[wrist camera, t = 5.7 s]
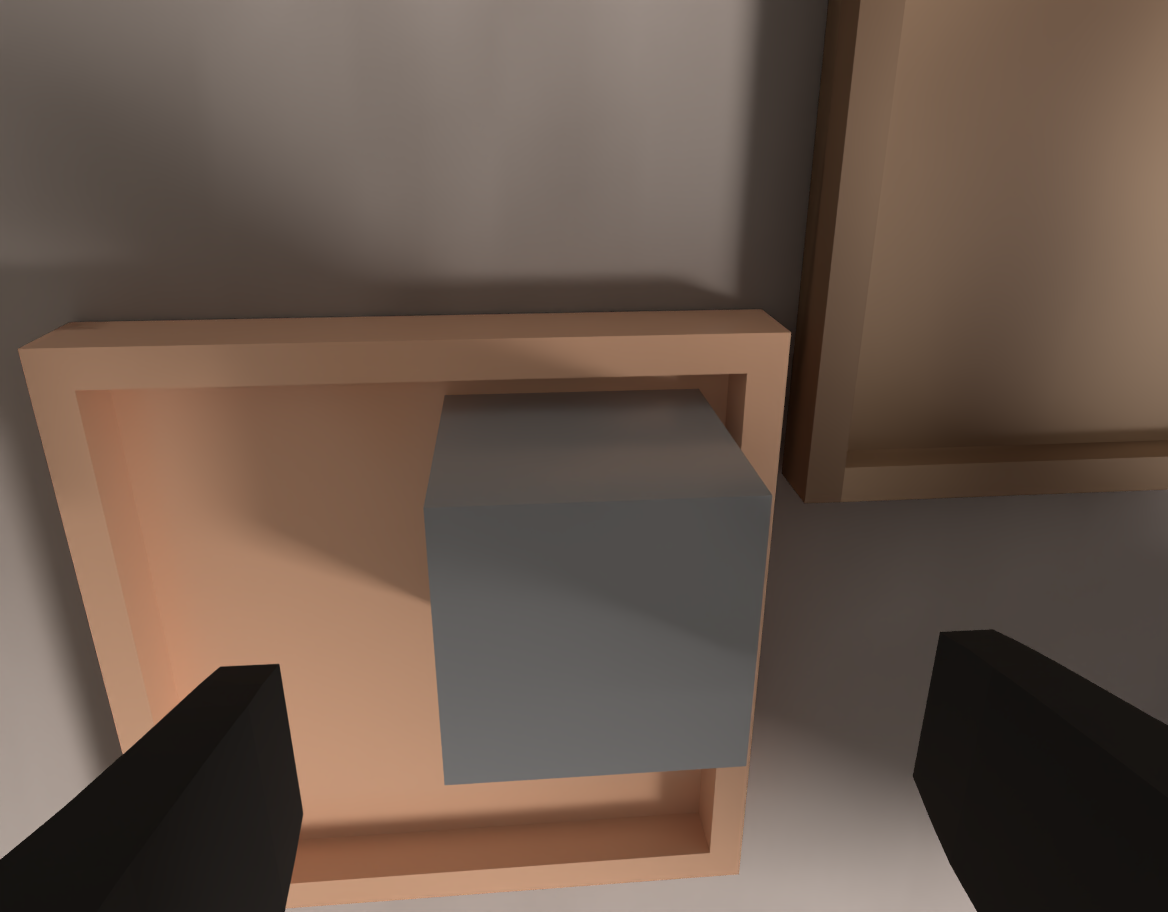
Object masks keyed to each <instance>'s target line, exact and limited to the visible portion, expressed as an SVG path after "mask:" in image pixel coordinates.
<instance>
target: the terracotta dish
mask: <svg viewBox="0 0 1168 912" xmlns="http://www.w3.org/2000/svg"><path fill="white" fill-rule="evenodd" d="M790 338H791V332H790V331H789V330H787V329H786V328H785V327H784V326H782V325H781V324H780V323H779V322H777V321H776V320H775V319H774V318H772V317H771V316H770V315H769V314H767V313H766V312H765V311H763V310H762V309H742V310H690V311H637V312H584V313H531V314H478V315H426V316H373V317H320V318H267V319H214V320H162V321H109V322H69V323H67V324H65V325H63V326H61V327H59V328H57V329H55V330H54V331H52V332H50V333H48V334H46V335H44V336H42V337H40V338H38V339H36V340H34V341H32V342H30V343H28V344H26V345H24V346H22V347H20V348H18V352H19V356H20V360H21V364H22V368H23V371H24V375H25V379H26V383H27V387H28V391H29V395H30V398H31V402H32V406H33V410H34V414H35V418H36V422H37V425H38V429H39V433H40V437H41V441H42V445H43V449H44V452H45V456H46V460H47V464H48V468H49V472H50V476H51V480H52V483H53V487H54V491H55V495H56V499H57V503H58V507H59V510H60V514H61V518H62V522H63V526H64V530H65V534H66V537H67V541H68V545H69V549H70V553H71V557H72V561H73V564H74V568H75V572H76V576H77V580H78V584H79V588H80V591H81V595H82V599H83V603H84V607H85V611H86V615H87V618H88V622H89V626H90V630H91V634H92V638H93V642H94V645H95V649H96V653H97V657H98V661H99V665H100V669H101V672H102V676H103V680H104V684H105V688H106V692H107V696H108V699H109V703H110V707H111V711H112V715H113V719H114V723H115V726H116V730H117V734H118V738H119V742H120V746H121V750H122V753H123V754H124V753H125V752H126V751H127V750H128V749H130V748H131V747H132V746H133V745H134V744H135V743H136V742H137V741H138V740H139V739H141V738H142V737H143V736H144V735H145V734H146V733H147V732H148V731H149V730H150V729H151V728H153V727H154V726H155V725H156V724H157V723H158V722H159V721H160V720H161V719H162V718H163V717H164V716H166V715H167V714H168V713H169V712H170V711H171V710H172V709H173V708H174V707H175V706H176V705H177V704H179V703H180V702H181V701H182V700H183V699H184V698H185V697H186V696H187V695H188V694H189V693H191V692H192V691H193V690H194V689H195V688H196V687H197V686H198V685H199V684H200V683H202V682H203V681H204V680H205V679H206V678H207V677H208V676H210V675H211V674H212V673H213V672H214V671H215V670H217V669H218V668H219V667H221V666H242V665H263V664H279V665H280V671H281V677H282V683H283V689H284V696H285V702H286V708H287V714H288V720H289V727H290V733H291V739H292V745H293V752H294V758H295V764H296V770H297V776H298V783H299V789H300V795H301V801H302V808H303V819H302V825H301V830H300V836H299V841H298V847H297V852H296V858H295V863H294V868H293V873H292V878H291V883H290V888H289V893H288V898H287V903H286V908H297V907H310V906H323V905H337V904H350V903H363V902H376V901H390V900H403V899H416V898H429V897H443V896H456V895H469V894H483V893H496V892H509V891H522V890H536V889H549V888H562V887H575V886H589V885H602V884H615V883H628V882H642V881H655V880H668V879H681V878H695V877H708V876H721V875H734V874H739V867H740V857H741V846H742V836H743V826H744V815H745V805H746V794H747V784H748V774H749V763H750V753H751V743H752V732H753V722H754V712H755V701H756V691H757V680H758V670H759V660H760V649H761V639H762V629H763V618H764V608H765V597H766V587H767V577H768V566H769V556H770V546H771V535H772V525H773V514H774V504H775V494H776V483H777V473H778V463H779V452H780V442H781V432H782V421H783V411H784V400H785V390H786V380H787V369H788V359H789V349H790ZM667 389H699V390H700V391H701V393H702V394H703V396H704V397H705V398H706V400H707V401H708V403H709V404H710V406H711V407H712V409H713V410H714V411H715V413H716V414H717V416H718V417H719V419H720V420H721V422H722V423H723V424H724V426H725V427H726V429H727V430H728V432H729V433H730V435H731V436H732V437H733V439H734V440H735V442H736V443H737V445H738V446H739V448H740V449H741V451H742V452H743V453H744V455H745V456H746V458H747V459H748V461H749V462H750V464H751V465H752V466H753V468H754V469H755V471H756V472H757V474H758V475H759V477H760V478H761V479H762V481H763V482H764V484H765V485H766V487H767V488H768V490H769V491H770V493H771V494H772V505H771V516H770V526H769V536H768V547H767V557H766V568H765V578H764V588H763V599H762V609H761V619H760V630H759V640H758V650H757V661H756V671H755V681H754V692H753V702H752V712H751V723H750V733H749V744H748V754H747V764H746V766H742V767H726V768H710V769H695V770H679V771H663V772H647V773H632V774H616V775H600V776H584V777H569V778H553V779H537V780H521V781H506V782H490V783H474V784H458V785H444V772H443V759H442V746H441V733H440V720H439V706H438V693H437V680H436V667H435V654H434V641H433V628H432V615H431V602H430V588H429V575H428V562H427V549H426V536H425V523H424V510H423V507H424V502H425V497H426V491H427V486H428V481H429V476H430V470H431V465H432V460H433V454H434V449H435V444H436V438H437V433H438V428H439V423H440V417H441V412H442V407H443V401H444V396H445V395H469V394H509V393H548V392H588V391H627V390H667Z"/></svg>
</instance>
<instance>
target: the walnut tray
mask: <svg viewBox="0 0 1168 912" xmlns="http://www.w3.org/2000/svg"><path fill="white" fill-rule="evenodd" d="M782 474H783V476H784V477H785V478H786V480H787V481H788V482H789V484H790V485H791V486H792V487H793V489H794V490H795V491H796V493H797V494H798V495H799V497H800V498H801V499H802V501H803V502H804V503H829V502H855V501H881V500H907V499H933V498H959V497H985V496H1011V495H1037V494H1063V493H1088V492H1114V491H1140V490H1166V489H1168V0H829V2H828V12H827V22H826V33H825V43H824V53H823V63H822V73H821V83H820V93H819V103H818V114H817V124H816V134H815V144H814V154H813V164H812V174H811V185H810V195H809V205H808V215H807V225H806V235H805V245H804V256H803V266H802V276H801V286H800V296H799V306H798V316H797V326H796V337H795V347H794V357H793V367H792V377H791V387H790V397H789V408H788V418H787V428H786V438H785V448H784V458H783V468H782Z"/></svg>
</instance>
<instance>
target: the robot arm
mask: <svg viewBox="0 0 1168 912" xmlns="http://www.w3.org/2000/svg"><path fill="white" fill-rule="evenodd" d="M913 778H914V780H915V783H916V785H917V788H918V790H919V793H920V795H921V798H922V800H923V803H924V805H925V807H926V810H927V812H928V815H929V817H930V820H931V822H932V825H933V827H934V829H935V831H936V834H937V836H938V838H939V840H940V843H941V845H942V847H943V849H944V852H945V854H946V856H947V858H948V860H949V863H950V865H951V866H952V868H953V870H954V872H955V874H956V875H957V877H958V879H959V881H960V883H961V884H962V886H963V888H964V890H965V891H966V893H967V895H968V897H969V898H970V900H971V902H972V904H973V905H974V907H975V909H976V911H977V912H1168V725H1166V724H1164V723H1162V722H1161V721H1159V720H1157V719H1155V718H1153V717H1152V716H1150V715H1148V714H1146V713H1145V712H1143V711H1141V710H1139V709H1138V708H1136V707H1134V706H1132V705H1131V704H1129V703H1127V702H1125V701H1124V700H1122V699H1120V698H1118V697H1117V696H1115V695H1113V694H1111V693H1109V692H1108V691H1106V690H1104V689H1102V688H1101V687H1099V686H1097V685H1095V684H1094V683H1092V682H1090V681H1088V680H1087V679H1085V678H1083V677H1081V676H1080V675H1078V674H1076V673H1074V672H1073V671H1071V670H1069V669H1067V668H1066V667H1064V666H1062V665H1060V664H1058V663H1057V662H1055V661H1053V660H1051V659H1049V658H1048V657H1046V656H1044V655H1042V654H1040V653H1038V652H1037V651H1035V650H1033V649H1031V648H1029V647H1027V646H1025V645H1023V644H1021V643H1020V642H1018V641H1016V640H1014V639H1012V638H1010V637H1007V636H1005V635H1003V634H1001V633H999V632H997V631H995V630H973V631H952V632H940V635H939V640H938V646H937V651H936V656H935V661H934V667H933V672H932V677H931V683H930V688H929V693H928V699H927V704H926V709H925V715H924V720H923V725H922V730H921V736H920V741H919V746H918V752H917V757H916V762H915V768H914V773H913ZM302 819H303V808H302V801H301V795H300V789H299V783H298V776H297V770H296V764H295V758H294V752H293V745H292V739H291V733H290V727H289V720H288V714H287V708H286V702H285V696H284V689H283V683H282V677H281V671H280V665H279V664H263V665H242V666H221V667H219V668H218V669H217V670H215V671H214V672H213V673H212V674H211V675H210V676H208V677H207V678H206V679H205V680H204V681H203V682H202V683H200V684H199V685H198V686H197V687H196V688H195V689H194V690H193V691H192V692H191V693H189V694H188V695H187V696H186V697H185V698H184V699H183V700H182V701H181V702H180V703H179V704H177V705H176V706H175V707H174V708H173V709H172V710H171V711H170V712H169V713H168V714H167V715H166V716H164V717H163V718H162V719H161V720H160V721H159V722H158V723H157V724H156V725H155V726H154V727H153V728H151V729H150V730H149V731H148V732H147V733H146V734H145V735H144V736H143V737H142V738H141V739H139V740H138V741H137V742H136V743H135V744H134V745H133V746H132V747H131V748H130V749H128V750H127V751H126V752H125V753H124V754H123V755H122V756H121V757H119V758H118V759H117V760H116V761H115V762H114V763H113V764H112V765H111V766H109V767H108V768H107V769H106V770H105V771H104V772H103V773H102V774H100V775H99V776H98V777H97V778H96V779H95V780H94V781H93V782H92V783H90V784H89V785H88V786H87V787H86V788H85V789H84V790H83V791H81V792H80V793H79V794H78V795H77V796H76V797H75V798H74V799H72V800H71V801H70V802H69V803H68V804H67V805H66V806H64V807H63V808H62V809H61V810H60V811H59V812H57V813H56V814H55V815H54V816H53V817H51V818H50V819H49V820H48V821H47V822H45V823H44V824H43V825H42V826H40V827H39V828H38V829H37V830H36V831H34V832H33V833H32V834H31V835H30V836H28V837H27V838H26V839H25V840H24V841H22V842H21V843H20V844H19V845H17V846H16V847H15V848H14V849H13V850H11V851H10V852H9V853H8V854H7V855H5V856H4V857H3V858H2V859H0V912H285V908H286V903H287V898H288V893H289V888H290V883H291V878H292V873H293V868H294V863H295V858H296V852H297V847H298V841H299V836H300V830H301V825H302Z"/></svg>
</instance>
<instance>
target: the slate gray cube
mask: <svg viewBox="0 0 1168 912" xmlns="http://www.w3.org/2000/svg"><path fill="white" fill-rule="evenodd" d="M771 505H772V494H771V493H770V491H769V490H768V488H767V487H766V485H765V484H764V482H763V481H762V479H761V478H760V477H759V475H758V474H757V472H756V471H755V469H754V468H753V466H752V465H751V464H750V462H749V461H748V459H747V458H746V456H745V455H744V453H743V452H742V451H741V449H740V448H739V446H738V445H737V443H736V442H735V440H734V439H733V437H732V436H731V435H730V433H729V432H728V430H727V429H726V427H725V426H724V424H723V423H722V422H721V420H720V419H719V417H718V416H717V414H716V413H715V411H714V410H713V409H712V407H711V406H710V404H709V403H708V401H707V400H706V398H705V397H704V396H703V394H702V393H701V391H700V390H699V389H667V390H627V391H588V392H548V393H509V394H469V395H445V396H444V401H443V407H442V412H441V417H440V423H439V428H438V433H437V438H436V444H435V449H434V454H433V460H432V465H431V470H430V476H429V481H428V486H427V491H426V497H425V502H424V507H423V510H424V523H425V536H426V549H427V562H428V575H429V588H430V602H431V615H432V628H433V641H434V654H435V667H436V680H437V693H438V706H439V720H440V733H441V746H442V759H443V772H444V785H458V784H474V783H490V782H506V781H521V780H537V779H553V778H569V777H584V776H600V775H616V774H632V773H647V772H663V771H679V770H695V769H710V768H726V767H742V766H746V764H747V754H748V744H749V733H750V723H751V712H752V702H753V692H754V681H755V671H756V661H757V650H758V640H759V630H760V619H761V609H762V599H763V588H764V578H765V568H766V557H767V547H768V536H769V526H770V516H771Z"/></svg>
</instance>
